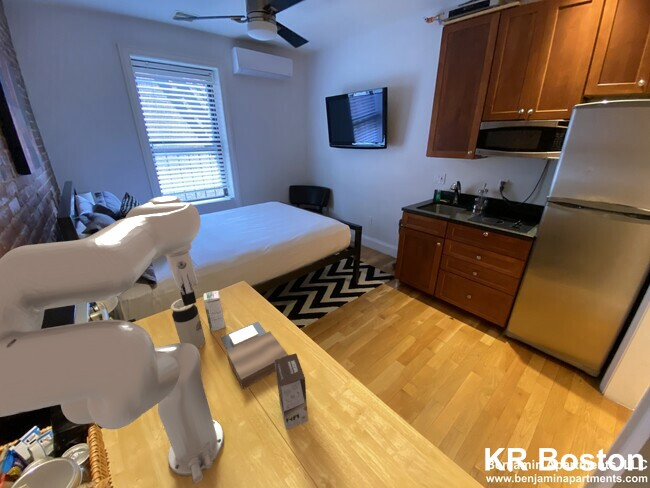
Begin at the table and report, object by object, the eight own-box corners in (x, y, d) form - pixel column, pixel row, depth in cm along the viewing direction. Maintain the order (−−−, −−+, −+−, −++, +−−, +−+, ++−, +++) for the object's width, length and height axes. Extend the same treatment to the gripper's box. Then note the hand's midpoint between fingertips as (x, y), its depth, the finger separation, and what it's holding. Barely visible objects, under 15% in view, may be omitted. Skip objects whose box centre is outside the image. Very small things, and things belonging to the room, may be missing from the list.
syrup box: (209, 323, 110) (202, 293, 105) (224, 319, 113) (218, 289, 107) (210, 332, 106) (202, 301, 100) (226, 327, 108) (219, 297, 102)
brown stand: (289, 363, 91) (288, 354, 90) (242, 388, 83) (241, 379, 81) (271, 339, 102) (270, 331, 100) (228, 359, 93) (226, 350, 92)
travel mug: (176, 350, 98) (164, 309, 90) (191, 334, 105) (181, 295, 97) (196, 353, 96) (184, 312, 88) (209, 338, 103) (200, 298, 96)
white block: (252, 324, 106) (252, 329, 106) (229, 334, 101) (229, 339, 102) (258, 333, 101) (258, 338, 102) (234, 344, 96) (235, 349, 97)
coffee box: (308, 421, 73) (306, 379, 67) (285, 430, 71) (280, 387, 65) (299, 392, 81) (296, 352, 75) (278, 400, 79) (273, 359, 73)
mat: (270, 339, 102) (270, 338, 102) (230, 357, 94) (230, 357, 94) (258, 321, 111) (257, 321, 111) (220, 337, 103) (220, 337, 103)
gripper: (196, 250, 67) (210, 311, 74) (184, 233, 78) (197, 287, 85) (162, 259, 63) (180, 322, 70) (155, 239, 74) (171, 295, 81)
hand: (190, 303), depth 78 cm, fingers closed
